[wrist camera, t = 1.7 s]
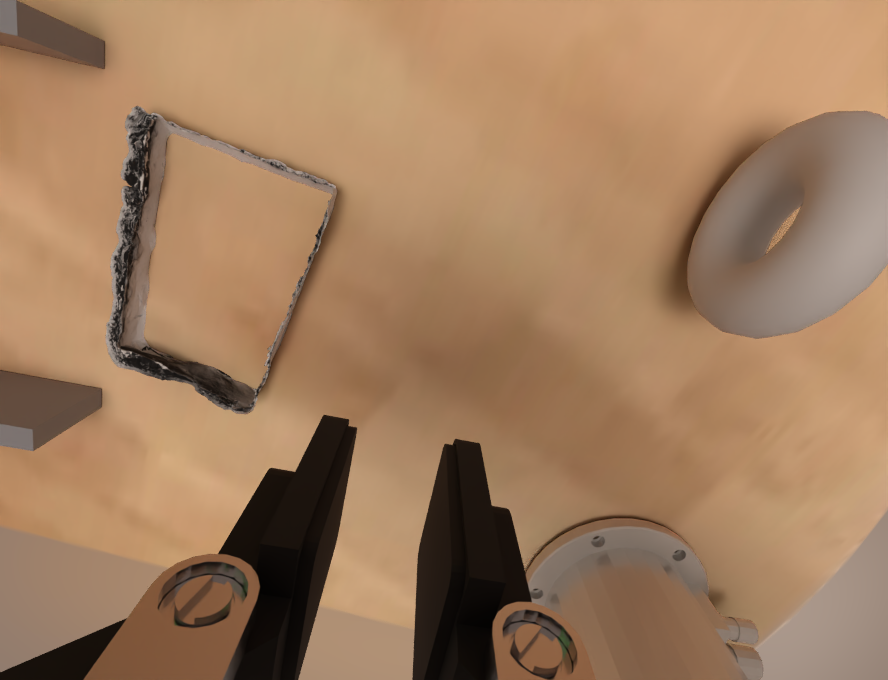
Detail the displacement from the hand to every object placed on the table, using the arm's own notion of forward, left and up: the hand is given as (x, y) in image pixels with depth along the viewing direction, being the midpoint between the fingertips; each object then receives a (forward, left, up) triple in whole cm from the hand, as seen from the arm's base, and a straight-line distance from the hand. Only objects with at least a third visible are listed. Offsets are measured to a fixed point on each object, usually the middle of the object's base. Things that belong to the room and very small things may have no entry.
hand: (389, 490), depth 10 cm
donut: (-15, -8, -17) cm, 24 cm away
